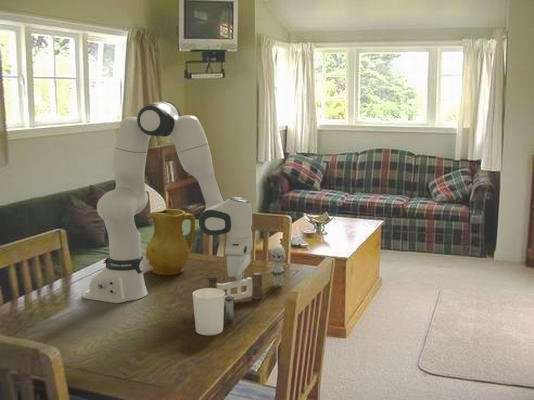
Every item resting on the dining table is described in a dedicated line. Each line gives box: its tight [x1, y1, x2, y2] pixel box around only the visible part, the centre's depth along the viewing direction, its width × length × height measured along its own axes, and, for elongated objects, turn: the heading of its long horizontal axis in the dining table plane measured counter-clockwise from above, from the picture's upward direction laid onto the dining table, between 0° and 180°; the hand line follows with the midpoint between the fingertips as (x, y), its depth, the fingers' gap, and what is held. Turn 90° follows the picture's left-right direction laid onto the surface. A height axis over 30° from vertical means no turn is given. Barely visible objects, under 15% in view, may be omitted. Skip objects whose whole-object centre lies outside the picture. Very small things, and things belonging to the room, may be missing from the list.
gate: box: [216, 277, 253, 303], centre depth 224 cm, size 14×1×6 cm, turn 124°
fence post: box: [252, 271, 263, 301], centre depth 229 cm, size 2×2×9 cm
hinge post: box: [207, 276, 218, 288], centre depth 219 cm, size 3×3×11 cm
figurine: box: [265, 244, 292, 287], centre depth 245 cm, size 10×6×15 cm, turn 68°
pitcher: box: [145, 208, 196, 276], centre depth 262 cm, size 17×19×25 cm
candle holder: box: [192, 287, 226, 336], centre depth 199 cm, size 10×10×12 cm
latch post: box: [225, 295, 235, 324], centre depth 207 cm, size 3×3×8 cm
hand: (240, 282), depth 228 cm, fingers closed
